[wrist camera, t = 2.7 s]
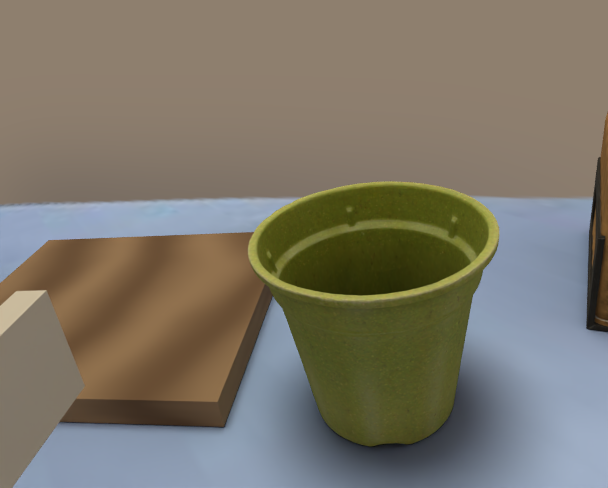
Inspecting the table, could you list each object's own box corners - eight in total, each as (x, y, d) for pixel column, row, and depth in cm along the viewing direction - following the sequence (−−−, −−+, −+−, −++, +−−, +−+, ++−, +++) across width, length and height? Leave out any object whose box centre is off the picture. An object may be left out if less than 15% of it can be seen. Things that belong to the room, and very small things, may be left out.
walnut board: (-112, 416, 29) (-126, 394, 29) (55, 257, 43) (48, 240, 42) (224, 426, 26) (217, 401, 25) (289, 250, 39) (286, 230, 39)
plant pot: (405, 533, 20) (392, 335, 16) (239, 411, 26) (199, 247, 22) (533, 385, 26) (546, 209, 21) (369, 313, 32) (356, 167, 28)
